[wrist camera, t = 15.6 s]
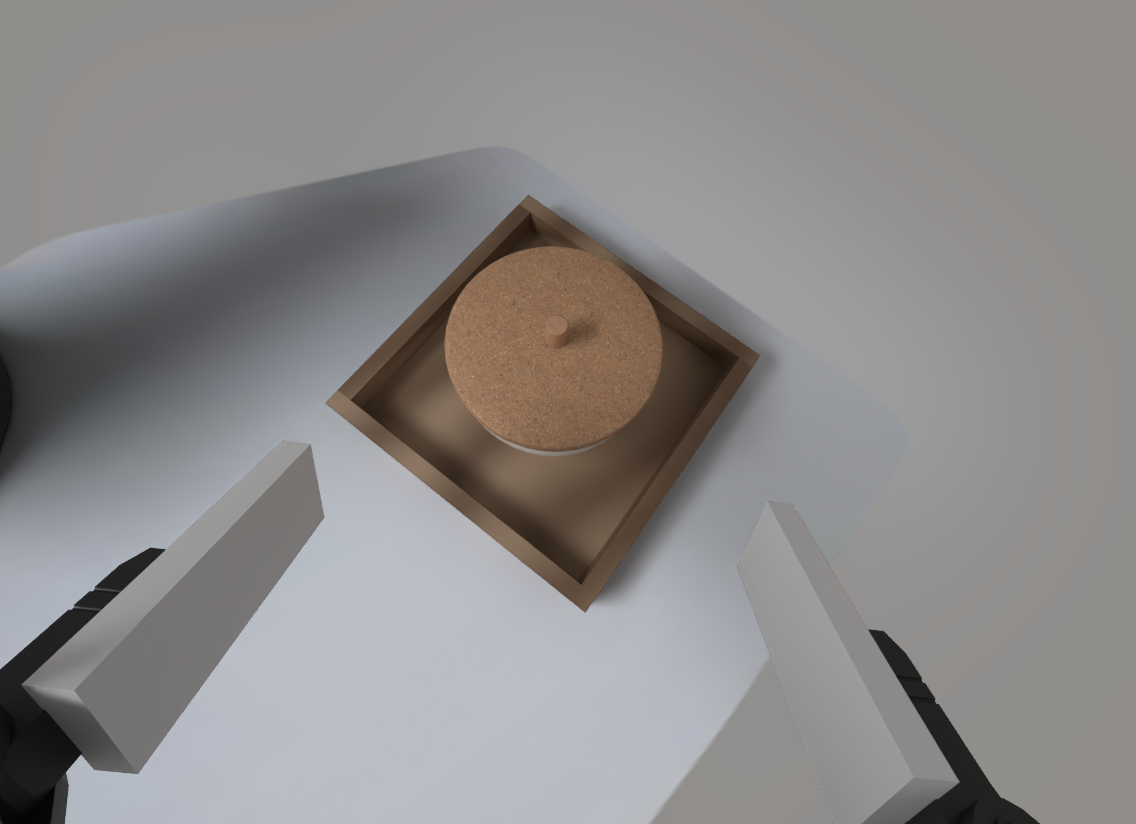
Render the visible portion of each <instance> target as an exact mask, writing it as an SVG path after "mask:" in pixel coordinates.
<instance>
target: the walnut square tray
mask: <svg viewBox="0 0 1136 824" xmlns="http://www.w3.org/2000/svg"><path fill="white" fill-rule="evenodd" d="M549 246H554V247H566V248H572V249H577V250H583V251H586V252H588V253H591V254H594V255H597V256H599V257H601V258H603V259H605V260H607V261H609V262H611V263H613V264H614V265H615V266H617V267H618V268H620V269H621V270H622V271H624V272H625V273H626V274H627V275H628V276H630V277H631V278H632V279H633V280H634V281H635V282H636V283H637V284H638V286H639V287H640V288H641V289H642V291H643V292H644V293H645V295H646V296H647V297H648V299H649V301H650V303H651V305H652V306H653V308H654V310H655V313H656V316H657V318H658V321H659V324H660V328H661V333H662V338H663V360H662V367H661V372H660V376H659V379H658V382H657V385H656V387H655V389H654V391H653V393H652V395H651V397H650V399H649V401H648V402H647V403H646V405H645V406H644V407H643V409H642V410H641V411H640V413H639V414H638V415H637V416H636V417H635V418H634V419H633V420H632V421H631V422H630V423H629V424H628V425H627V426H626V427H625V428H624V429H622V430H621V431H619V432H618V433H616V434H615V435H614V436H612V437H611V438H609V439H608V440H607V441H605V442H604V443H602V444H600V445H598V446H596V447H593V448H591V449H589V450H587V451H583V452H580V453H576V454H572V455H566V456H540V455H535V454H530V453H526V452H523V451H521V450H518V449H515V448H513V447H511V446H509V445H508V444H506V443H504V442H502V441H501V440H499V439H497V438H496V437H495V436H494V435H492V434H491V433H490V432H489V431H487V430H486V429H485V428H484V427H483V426H482V424H481V423H479V422H478V421H477V419H476V418H475V417H474V416H473V415H472V414H471V413H470V412H469V411H468V410H467V408H466V407H465V405H464V404H463V402H462V400H461V399H460V397H459V396H458V394H457V393H456V390H455V388H454V386H453V383H452V381H451V379H450V376H449V373H448V368H447V364H446V360H445V345H444V343H445V334H446V327H447V323H448V320H449V316H450V313H451V310H452V308H453V306H454V304H455V302H456V300H457V298H458V297H459V295H460V294H461V292H462V291H463V289H464V288H465V287H466V285H467V284H468V283H469V282H470V281H471V280H472V279H473V278H474V277H475V276H476V275H477V274H478V273H479V272H481V271H482V270H483V269H485V268H486V267H487V266H489V265H490V264H491V263H493V262H495V261H497V260H499V259H501V258H503V257H504V256H507V255H510V254H513V253H515V252H518V251H521V250H526V249H531V248H537V247H549ZM759 357H760V355H759V354H757V353H756V352H754V351H753V350H752V349H750V348H749V347H747V346H746V345H744V344H743V343H741V342H740V341H739V340H737V339H736V338H734V337H733V336H731V335H730V334H729V333H727V332H726V331H724V330H723V329H721V328H720V327H718V326H717V325H716V324H714V323H713V322H711V321H710V320H708V319H707V318H705V317H704V316H703V315H701V314H700V313H698V312H697V311H695V310H694V309H692V308H691V307H690V306H688V305H687V304H685V303H684V302H682V301H681V300H679V299H678V298H677V297H675V296H674V295H672V294H671V293H669V292H668V291H666V290H665V289H664V288H662V287H661V286H659V285H658V284H656V283H655V282H653V281H652V280H651V279H649V278H648V277H646V276H645V275H643V274H642V273H640V272H639V271H638V270H636V269H635V268H633V267H632V266H630V265H629V264H627V263H626V262H625V261H623V260H622V259H620V258H619V257H617V256H616V255H614V254H613V253H612V252H610V251H609V250H607V249H606V248H604V247H603V246H602V245H600V244H599V243H597V242H596V241H594V240H593V239H591V238H590V237H589V236H587V235H586V234H584V233H583V232H581V231H580V230H578V229H577V228H576V227H574V226H573V225H571V224H570V223H568V222H567V221H565V220H564V219H563V218H561V217H560V216H558V215H557V214H555V213H554V212H552V211H551V210H550V209H548V208H547V207H545V206H544V205H542V204H541V203H539V202H538V201H537V200H535V199H534V198H532V197H531V196H529V195H528V196H527V197H526V198H525V199H524V200H523V201H522V202H521V203H520V204H519V205H518V206H517V207H516V208H515V209H514V210H513V211H512V212H511V213H510V214H509V215H508V216H507V217H506V218H505V219H504V220H503V221H502V222H501V223H500V224H499V225H498V226H497V227H496V228H495V229H494V230H493V231H492V233H491V234H490V235H489V236H488V237H487V238H486V239H485V240H484V241H483V242H482V243H481V244H480V245H479V246H478V247H477V248H476V249H475V250H474V251H473V252H472V253H471V254H470V255H469V256H468V257H467V258H466V259H465V260H464V261H463V262H462V263H461V264H460V265H459V266H458V267H457V268H456V269H455V270H454V271H453V272H452V274H451V275H450V276H449V277H448V278H447V279H446V280H445V281H444V282H443V283H442V284H441V285H440V286H439V287H438V288H437V289H436V290H435V291H434V292H433V293H432V294H431V295H430V296H429V297H428V298H427V299H426V300H425V301H424V302H423V303H422V304H421V305H420V306H419V307H418V308H417V309H416V310H415V311H414V312H413V314H412V315H411V316H410V317H409V318H408V319H407V320H406V321H405V322H404V323H403V324H402V325H401V326H400V327H399V328H398V329H397V330H396V331H395V332H394V333H393V334H392V335H391V336H390V337H389V338H388V339H387V340H386V341H385V342H384V343H383V344H382V345H381V346H380V347H379V348H378V349H377V350H376V351H375V352H374V353H373V355H372V356H371V357H370V358H369V359H368V360H367V361H366V362H365V363H364V364H363V365H362V366H361V367H360V368H359V369H358V370H357V371H356V372H355V373H354V374H353V375H352V376H351V377H350V378H349V379H348V380H347V381H346V382H345V383H344V384H343V385H342V386H341V387H340V388H339V389H338V390H337V391H336V392H335V393H334V394H333V396H332V397H331V398H330V399H329V400H328V401H327V402H326V404H327V405H328V406H329V407H331V408H332V409H333V410H334V411H336V412H337V413H338V414H339V415H341V416H342V417H343V418H344V419H346V420H347V421H348V422H349V423H351V424H352V425H353V426H354V427H356V428H357V429H358V430H359V431H360V432H362V433H363V434H364V435H365V436H367V437H368V438H369V439H370V440H372V441H373V442H374V443H375V444H377V445H378V446H379V447H380V448H382V449H383V450H384V451H385V452H387V453H388V454H389V455H390V456H392V457H393V458H394V459H395V460H396V461H398V462H399V463H400V464H401V465H403V466H404V467H405V468H406V469H408V470H409V471H410V472H411V473H413V474H414V475H415V476H416V477H418V478H419V479H420V480H421V481H423V482H424V483H425V484H426V485H427V486H429V487H430V488H431V489H432V490H434V491H435V492H436V493H437V494H439V495H440V496H441V497H442V498H444V499H445V500H446V501H447V502H449V503H450V504H451V505H452V506H454V507H455V508H456V509H457V510H458V511H460V512H461V513H462V514H463V515H465V516H466V517H467V518H468V519H470V520H471V521H472V522H473V523H475V524H476V525H477V526H478V527H480V528H481V529H482V530H483V531H485V532H486V533H487V534H488V535H490V536H491V537H492V538H493V539H494V540H496V541H497V542H498V543H499V544H501V545H502V546H503V547H504V548H506V549H507V550H508V551H509V552H511V553H512V554H513V555H514V556H516V557H517V558H518V559H519V560H521V561H522V562H523V563H524V564H525V565H527V566H528V567H529V568H530V569H532V570H533V571H534V572H535V573H537V574H538V575H539V576H540V577H542V578H543V579H544V580H545V581H547V582H548V583H549V584H550V585H552V586H553V587H554V588H555V589H556V590H558V591H559V592H560V593H561V594H563V595H564V596H565V597H566V598H568V599H569V600H570V601H571V602H573V603H574V604H575V605H576V606H578V607H579V608H580V609H581V610H583V611H584V612H585V613H586V611H587V610H588V608H589V607H590V605H591V604H592V602H593V601H594V599H595V598H596V596H597V595H598V593H599V592H600V591H601V589H602V588H603V586H604V585H605V583H606V582H607V580H608V579H609V577H610V576H611V574H612V573H613V571H614V570H615V568H616V567H617V566H618V564H619V563H620V561H621V560H622V558H623V557H624V555H625V554H626V552H627V551H628V549H629V548H630V546H631V545H632V544H633V542H634V541H635V539H636V538H637V536H638V535H639V533H640V532H641V530H642V529H643V527H644V526H645V524H646V523H647V522H648V520H649V519H650V517H651V516H652V514H653V513H654V511H655V510H656V508H657V507H658V505H659V504H660V502H661V501H662V500H663V498H664V497H665V495H666V494H667V492H668V491H669V489H670V488H671V486H672V485H673V483H674V482H675V480H676V479H677V477H678V476H679V475H680V473H681V472H682V470H683V469H684V467H685V466H686V464H687V463H688V461H689V460H690V458H691V457H692V455H693V454H694V453H695V451H696V450H697V448H698V447H699V445H700V444H701V442H702V441H703V439H704V438H705V436H706V435H707V433H708V432H709V431H710V429H711V428H712V426H713V425H714V423H715V422H716V420H717V419H718V417H719V416H720V414H721V413H722V411H723V410H724V409H725V407H726V406H727V404H728V403H729V401H730V400H731V398H732V397H733V395H734V394H735V392H736V391H737V389H738V388H739V386H740V385H741V384H742V382H743V381H744V379H745V378H746V376H747V375H748V373H749V372H750V370H751V369H752V367H753V366H754V364H755V363H756V362H757V360H758V359H759Z"/></svg>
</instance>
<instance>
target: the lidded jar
mask: <svg viewBox="0 0 1136 824" xmlns="http://www.w3.org/2000/svg"><path fill="white" fill-rule="evenodd" d="M444 345H445V360H446V364H447V368H448V373H449V376H450V379H451V381H452V383H453V386H454V388H455V390H456V393H457V394H458V396H459V397H460V399H461V400H462V402H463V404H464V405H465V407H466V408H467V410H468V411H469V412H470V413H471V414H472V415H473V416H474V417H475V418H476V419H477V421H478V422H479V423H481V424H482V426H483V427H484V428H485V429H486V430H487V431H489V432H490V433H491V434H492V435H494V436H495V437H496V438H497V439H499V440H501V441H502V442H504V443H506V444H508V445H509V446H511V447H513V448H515V449H518V450H521V451H523V452H526V453H530V454H535V455H540V456H566V455H572V454H576V453H580V452H583V451H587V450H589V449H591V448H593V447H596V446H598V445H600V444H602V443H604V442H605V441H607V440H608V439H609V438H611V437H612V436H614V435H615V434H616V433H618V432H619V431H621V430H622V429H624V428H625V427H626V426H627V425H628V424H629V423H630V422H631V421H632V420H633V419H634V418H635V417H636V416H637V415H638V414H639V413H640V411H641V410H642V409H643V407H644V406H645V405H646V403H647V402H648V401H649V399H650V397H651V395H652V393H653V391H654V389H655V387H656V385H657V382H658V379H659V376H660V372H661V367H662V360H663V338H662V333H661V328H660V324H659V321H658V318H657V316H656V313H655V310H654V308H653V306H652V305H651V303H650V301H649V299H648V297H647V296H646V295H645V293H644V292H643V291H642V289H641V288H640V287H639V286H638V284H637V283H636V282H635V281H634V280H633V279H632V278H631V277H630V276H628V275H627V274H626V273H625V272H624V271H622V270H621V269H620V268H618V267H617V266H615V265H614V264H613V263H611V262H609V261H607V260H605V259H603V258H601V257H599V256H597V255H594V254H591V253H588V252H586V251H583V250H577V249H572V248H566V247H554V246H549V247H537V248H531V249H526V250H521V251H518V252H515V253H513V254H510V255H507V256H504V257H503V258H501V259H499V260H497V261H495V262H493V263H491V264H490V265H489V266H487V267H486V268H485V269H483V270H482V271H481V272H479V273H478V274H477V275H476V276H475V277H474V278H473V279H472V280H471V281H470V282H469V283H468V284H467V285H466V287H465V288H464V289H463V291H462V292H461V294H460V295H459V297H458V298H457V300H456V302H455V304H454V306H453V308H452V310H451V313H450V316H449V320H448V323H447V327H446V334H445V343H444Z"/></svg>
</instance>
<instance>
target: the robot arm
mask: <svg viewBox="0 0 1136 824" xmlns="http://www.w3.org/2000/svg"><path fill="white" fill-rule="evenodd" d="M10 403H11V393H10V384H9V379H8V375H7V372H6V369H5V366H4V364H3V362H2V360H1V358H0V444H1V441H2V439H3V436H4V433H5V430H6V427H7V423H8V418H9V413H10ZM323 519H324V513H323V508H322V502H321V497H320V492H319V486H318V481H317V476H316V471H315V465H314V460H313V455H312V450H311V444H304V443H296V442H288V441H282V442H281V443H280V444H279V445H278V446H277V447H276V448H275V449H273V450H272V451H271V452H270V453H269V454H268V455H267V456H266V457H265V458H264V459H263V460H262V461H261V462H260V463H258V464H257V465H256V466H255V467H254V468H253V469H252V470H251V471H250V472H249V473H248V474H247V475H246V476H245V477H243V478H242V479H241V480H240V481H239V482H238V483H237V484H236V485H235V486H234V487H233V488H232V489H231V490H230V491H228V492H227V493H226V494H225V495H224V496H223V497H222V498H221V499H220V500H219V501H218V502H217V503H216V504H215V505H213V506H212V507H211V508H210V509H209V510H208V511H207V512H206V513H205V514H204V515H203V516H202V517H201V518H200V519H198V520H197V521H196V522H195V523H194V524H193V525H192V526H191V527H190V528H189V529H188V530H187V531H186V532H185V533H183V534H182V535H181V536H180V537H179V538H178V539H177V540H176V541H175V542H174V543H173V544H172V545H171V546H170V547H168V548H167V549H157V548H149V549H147V550H146V551H144V552H142V553H140V554H138V555H137V556H135V557H133V558H131V559H130V560H128V561H126V562H124V563H123V564H121V565H119V566H118V567H117V568H116V569H115V570H114V571H112V572H111V573H110V574H109V575H108V576H107V577H106V578H104V579H103V580H102V581H101V582H100V583H99V584H98V585H96V586H95V589H94V591H90V592H88V593H87V594H86V595H85V596H84V597H83V598H82V599H80V600H79V601H78V602H77V603H76V604H75V605H74V608H73V609H72V610H68V611H67V612H65V613H64V614H63V615H62V616H61V617H60V618H59V619H57V620H56V621H55V622H54V623H53V624H52V625H51V626H49V627H48V628H47V629H46V630H45V631H44V632H43V633H41V634H40V635H39V636H38V637H37V638H36V639H35V640H33V641H32V642H31V643H30V644H29V645H28V646H27V647H25V648H24V649H23V650H22V651H21V652H20V653H19V654H17V655H16V656H15V657H14V658H13V659H12V660H11V661H9V662H8V663H7V664H6V665H5V666H4V667H3V668H1V669H0V824H65V816H66V807H67V797H68V787H69V785H68V780H67V775H66V771H67V770H68V769H69V768H70V767H71V766H72V764H73V763H74V762H75V761H76V760H77V758H78V757H79V756H80V755H82V756H83V757H84V758H85V760H86V761H87V762H88V763H89V764H90V765H91V767H92V768H93V769H94V770H101V771H111V772H122V773H132V774H138V773H139V772H140V770H141V769H142V768H143V766H144V765H145V763H146V762H147V761H148V759H149V758H150V757H151V755H152V754H153V752H154V751H155V750H156V748H157V747H158V746H159V744H160V743H161V741H162V740H163V739H164V737H165V736H166V735H167V733H168V732H169V730H170V729H171V728H172V726H173V725H174V724H175V722H176V721H177V719H178V718H179V717H180V715H181V714H182V713H183V711H184V710H185V708H186V707H187V706H188V704H189V703H190V702H191V700H192V699H193V697H194V696H195V695H196V693H197V692H198V691H199V689H200V688H201V686H202V685H203V684H204V682H205V681H206V680H207V678H208V677H209V675H210V674H211V673H212V671H213V670H214V669H215V667H216V666H217V664H218V663H219V662H220V660H221V659H222V658H223V656H224V655H225V653H226V652H227V651H228V649H229V648H230V647H231V645H232V644H233V642H234V641H235V640H236V638H237V637H238V636H239V634H240V633H241V631H242V630H243V629H244V627H245V626H246V625H247V623H248V622H249V620H250V619H251V618H252V616H253V615H254V613H255V612H256V611H257V609H258V608H259V607H260V605H261V604H262V602H263V601H264V600H265V598H266V597H267V596H268V594H269V593H270V591H271V590H272V589H273V587H274V586H275V585H276V583H277V582H278V580H279V579H280V578H281V576H282V575H283V574H284V572H285V571H286V569H287V568H288V567H289V565H290V564H291V563H292V561H293V560H294V558H295V557H296V556H297V554H298V553H299V552H300V550H301V549H302V547H303V546H304V545H305V543H306V542H307V541H308V539H309V538H310V536H311V535H312V534H313V532H314V531H315V530H316V528H317V527H318V525H319V524H320V523H321V521H322V520H323ZM737 568H738V571H739V573H740V576H741V579H742V581H743V584H744V587H745V589H746V592H747V595H748V597H749V600H750V603H751V605H752V608H753V611H754V613H755V616H756V619H757V622H758V624H759V627H760V630H761V632H762V635H763V638H764V640H765V643H766V646H767V648H768V651H769V654H770V656H771V659H772V662H773V664H774V667H775V670H776V672H777V675H778V678H779V680H780V683H781V686H782V688H783V691H784V694H785V697H786V699H787V702H788V704H789V707H790V710H791V712H792V715H793V718H794V721H795V723H796V726H797V728H798V731H799V734H800V737H801V739H802V742H803V744H804V747H805V750H806V753H807V755H808V758H809V761H810V763H811V766H812V769H813V772H814V774H815V777H816V779H817V782H818V785H819V787H820V790H821V793H822V796H823V798H824V801H825V803H826V806H827V809H828V812H829V814H830V817H831V820H832V822H833V824H1040V823H1038V822H1037V821H1036V820H1035V819H1034V818H1032V817H1031V816H1030V815H1029V814H1028V813H1026V812H1025V811H1024V810H1023V809H1021V808H1020V807H1018V806H1016V805H1014V804H1012V803H1010V802H1009V801H1007V800H1005V799H1003V798H1001V797H1000V796H999V795H998V793H997V792H996V791H995V789H994V788H993V786H992V785H991V784H990V782H989V781H988V779H987V778H986V776H985V775H984V773H983V772H982V770H981V768H980V767H979V765H978V764H977V762H976V761H975V759H974V758H973V756H972V755H971V753H970V751H969V750H968V748H967V747H966V746H965V744H964V742H963V741H962V739H961V738H960V736H959V734H958V733H957V731H956V730H955V728H954V727H953V725H952V724H951V722H950V721H949V719H948V718H947V716H946V715H945V713H944V712H943V710H942V708H941V707H940V705H939V704H936V702H935V698H934V696H933V694H932V693H931V692H930V690H929V688H928V687H927V685H926V684H925V683H923V682H922V678H921V676H920V675H919V673H918V671H917V670H916V668H915V667H914V665H913V664H912V662H911V661H910V659H909V658H908V656H907V654H906V653H905V652H904V651H903V650H902V649H901V648H900V647H899V646H898V645H897V644H896V643H895V642H894V641H893V640H892V639H891V638H890V637H889V636H888V635H887V634H886V633H885V632H884V631H877V630H869V629H867V627H866V626H865V624H864V622H863V621H862V619H861V617H860V616H859V614H858V612H857V611H856V609H855V607H854V606H853V604H852V602H851V601H850V599H849V597H848V596H847V594H846V592H845V591H844V589H843V587H842V586H841V584H840V582H839V581H838V579H837V577H836V576H835V574H834V572H833V571H832V569H831V567H830V566H829V564H828V562H827V561H826V559H825V557H824V556H823V554H822V552H821V551H820V549H819V547H818V546H817V544H816V542H815V541H814V539H813V537H812V536H811V534H810V532H809V531H808V529H807V527H806V526H805V524H804V522H803V521H802V519H801V517H800V516H799V514H798V512H797V511H796V509H795V507H794V506H793V505H791V504H783V503H775V502H767V503H766V505H765V507H764V509H763V512H762V514H761V516H760V518H759V520H758V522H757V525H756V527H755V529H754V531H753V533H752V535H751V538H750V540H749V542H748V544H747V546H746V548H745V551H744V553H743V555H742V557H741V559H740V561H739V563H738V566H737Z"/></svg>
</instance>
